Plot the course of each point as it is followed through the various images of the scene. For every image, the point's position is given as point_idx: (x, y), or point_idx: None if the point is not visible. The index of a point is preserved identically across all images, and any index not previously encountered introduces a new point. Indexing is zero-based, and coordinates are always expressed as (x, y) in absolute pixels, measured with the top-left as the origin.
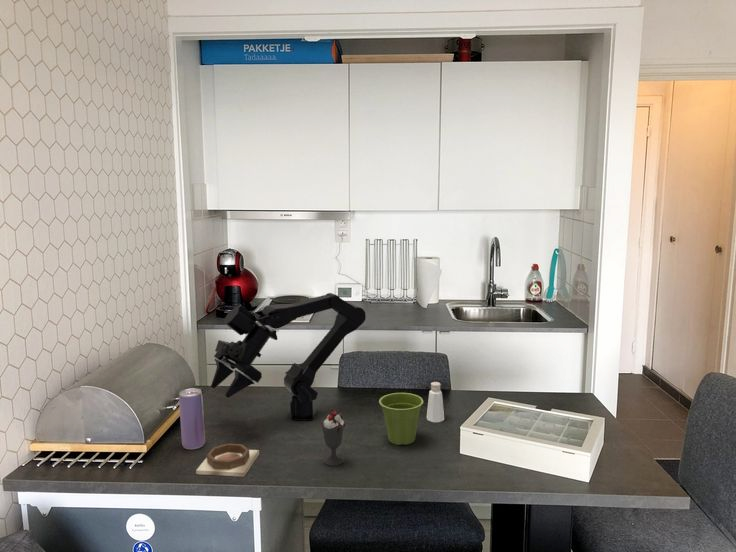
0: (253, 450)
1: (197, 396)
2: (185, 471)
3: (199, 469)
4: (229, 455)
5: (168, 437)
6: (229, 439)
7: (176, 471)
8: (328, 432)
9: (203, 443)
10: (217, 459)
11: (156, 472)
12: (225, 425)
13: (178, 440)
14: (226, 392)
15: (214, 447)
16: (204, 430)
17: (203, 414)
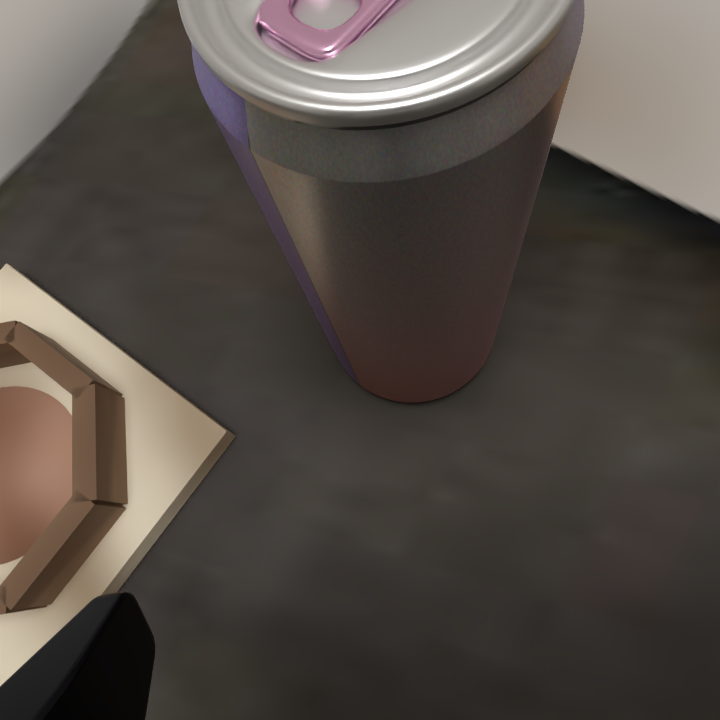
0: None
1: (202, 65)
2: (91, 229)
3: (3, 282)
4: (48, 495)
5: (632, 198)
6: (381, 597)
7: (121, 188)
8: None
9: (353, 378)
10: (49, 406)
11: (174, 101)
12: (703, 658)
13: (547, 250)
14: (92, 636)
15: (93, 394)
16: (377, 373)
17: (358, 316)
